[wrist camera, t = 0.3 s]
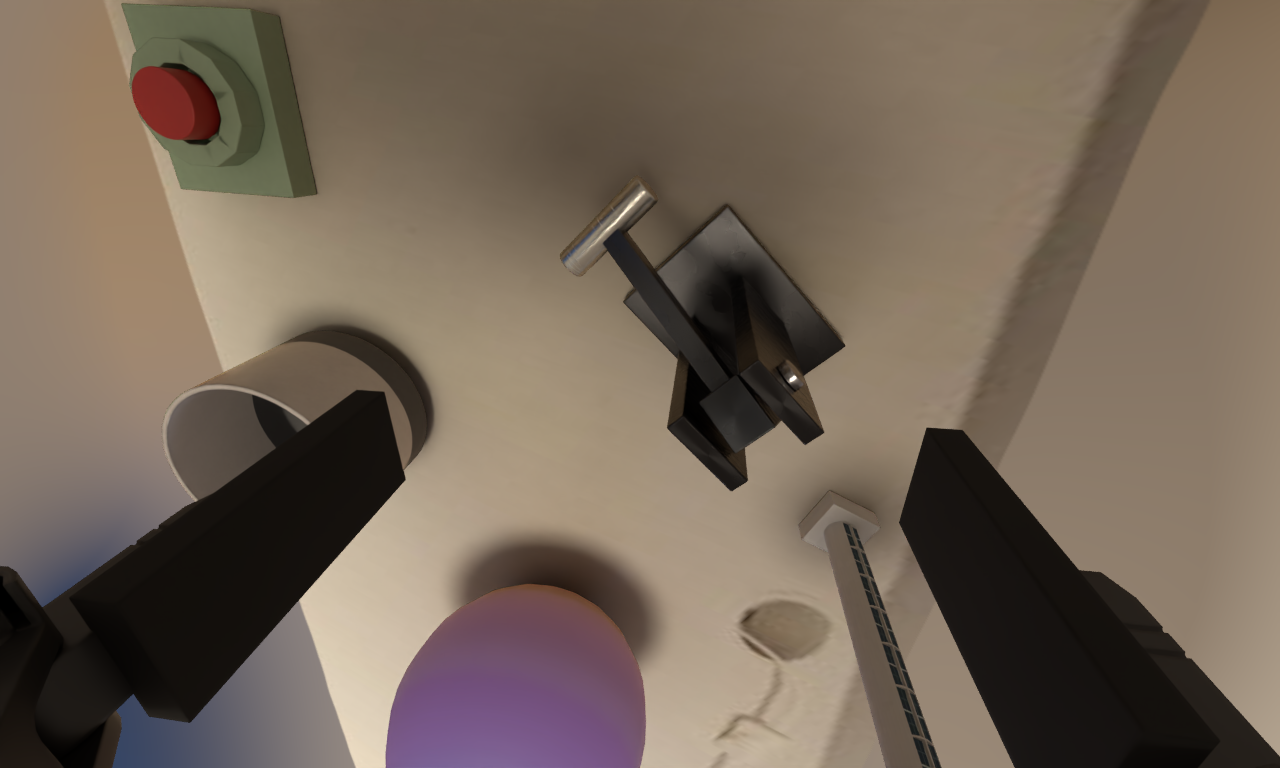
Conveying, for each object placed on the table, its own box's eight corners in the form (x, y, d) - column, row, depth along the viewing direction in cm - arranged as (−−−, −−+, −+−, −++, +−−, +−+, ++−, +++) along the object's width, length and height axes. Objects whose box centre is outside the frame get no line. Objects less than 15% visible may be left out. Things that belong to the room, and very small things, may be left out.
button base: (157, 11, 31) (86, -5, 28) (279, 16, 31) (222, 1, 27) (209, 185, 36) (154, 192, 32) (317, 194, 35) (272, 201, 32)
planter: (445, 357, 39) (362, 427, 30) (425, 483, 45) (350, 574, 36) (284, 301, 39) (149, 354, 30) (284, 434, 45) (172, 514, 36)
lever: (574, 256, 28) (549, 251, 25) (648, 181, 26) (627, 168, 23) (720, 460, 26) (706, 473, 23) (814, 397, 23) (808, 404, 21)
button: (151, 67, 29) (120, 64, 28) (209, 71, 29) (181, 67, 27) (173, 137, 31) (145, 138, 29) (229, 141, 31) (202, 142, 29)
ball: (493, 679, 57) (392, 932, 39) (429, 540, 48) (263, 779, 31) (673, 680, 53) (652, 960, 35) (637, 528, 44) (585, 794, 27)
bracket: (625, 296, 35) (572, 395, 22) (727, 203, 32) (736, 254, 19) (737, 414, 38) (749, 562, 25) (842, 339, 35) (920, 467, 22)
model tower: (914, 506, 40) (1318, 1267, 13) (847, 572, 44) (1057, 1271, 17) (822, 459, 39) (1054, 1166, 12) (762, 531, 43) (841, 1193, 16)
